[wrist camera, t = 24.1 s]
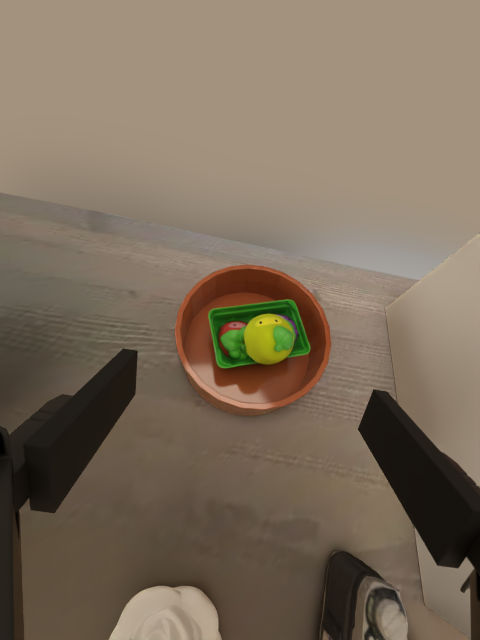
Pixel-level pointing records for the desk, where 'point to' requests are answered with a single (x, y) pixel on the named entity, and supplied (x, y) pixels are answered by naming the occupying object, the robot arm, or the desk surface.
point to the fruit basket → (257, 333)
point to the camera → (360, 603)
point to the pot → (255, 379)
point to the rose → (168, 616)
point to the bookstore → (442, 393)
